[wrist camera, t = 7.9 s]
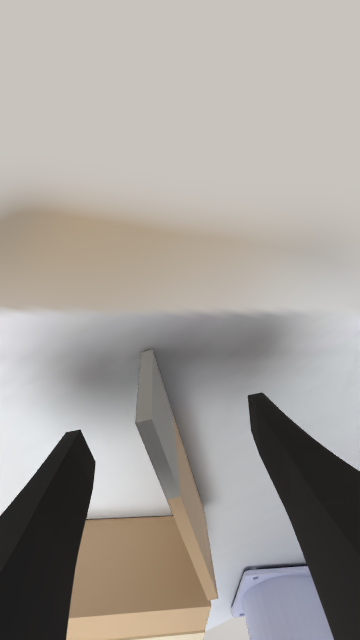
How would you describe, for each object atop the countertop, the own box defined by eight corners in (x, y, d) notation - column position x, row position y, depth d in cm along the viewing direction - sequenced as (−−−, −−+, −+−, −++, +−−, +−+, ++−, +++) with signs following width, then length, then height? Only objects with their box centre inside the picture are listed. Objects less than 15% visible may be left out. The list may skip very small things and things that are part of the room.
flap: (204, 511, 20) (218, 598, 15) (196, 513, 20) (207, 600, 15) (152, 349, 14) (152, 418, 9) (140, 352, 14) (135, 422, 9)
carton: (198, 514, 20) (211, 608, 16) (188, 571, 24) (197, 662, 19) (59, 521, 19) (29, 624, 15) (68, 579, 22) (46, 678, 18)
